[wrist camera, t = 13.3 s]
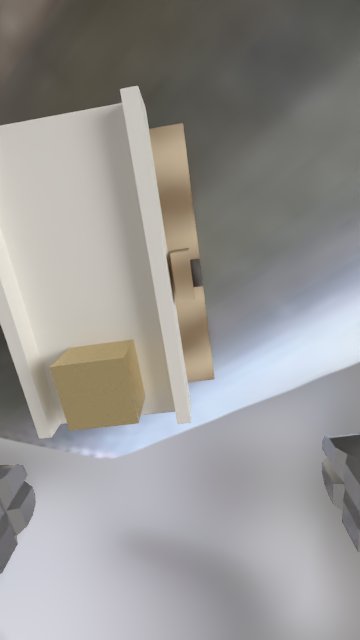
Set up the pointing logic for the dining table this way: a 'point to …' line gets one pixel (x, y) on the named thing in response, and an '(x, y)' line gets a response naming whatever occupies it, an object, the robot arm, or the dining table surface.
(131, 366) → the block
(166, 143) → the stand
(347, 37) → the dining table surface
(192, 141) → the dining table surface
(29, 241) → the beam
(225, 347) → the dining table surface
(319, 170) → the dining table surface
